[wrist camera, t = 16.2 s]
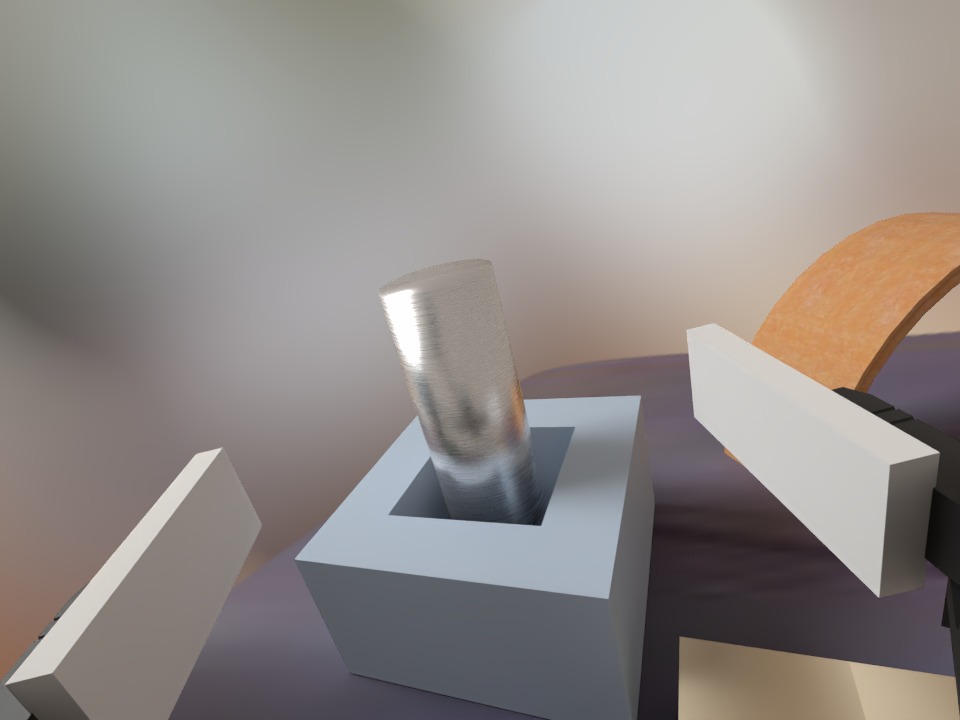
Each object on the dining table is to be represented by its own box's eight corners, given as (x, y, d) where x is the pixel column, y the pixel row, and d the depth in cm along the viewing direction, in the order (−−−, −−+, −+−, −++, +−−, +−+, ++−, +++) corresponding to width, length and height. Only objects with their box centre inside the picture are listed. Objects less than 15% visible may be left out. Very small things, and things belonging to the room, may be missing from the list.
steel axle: (461, 611, 22) (355, 303, 16) (491, 542, 25) (411, 268, 20) (551, 625, 20) (465, 287, 15) (571, 549, 23) (506, 253, 18)
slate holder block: (349, 672, 20) (294, 559, 18) (455, 493, 29) (427, 403, 27) (635, 739, 16) (608, 598, 13) (654, 502, 25) (641, 395, 23)
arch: (1149, 373, 25) (1210, 164, 21) (814, 517, 22) (818, 300, 18) (1008, 341, 30) (1037, 169, 27) (722, 453, 27) (709, 275, 24)
